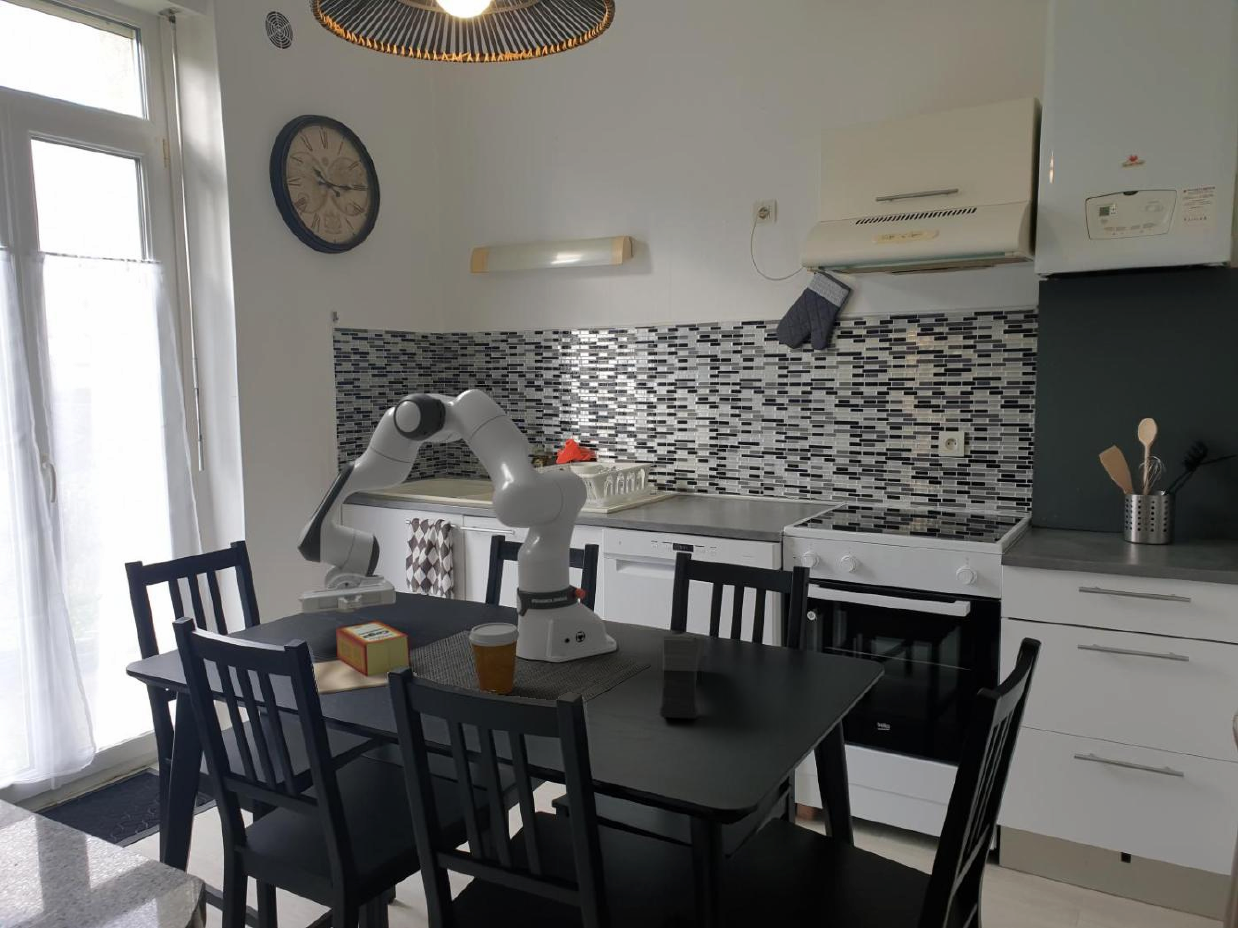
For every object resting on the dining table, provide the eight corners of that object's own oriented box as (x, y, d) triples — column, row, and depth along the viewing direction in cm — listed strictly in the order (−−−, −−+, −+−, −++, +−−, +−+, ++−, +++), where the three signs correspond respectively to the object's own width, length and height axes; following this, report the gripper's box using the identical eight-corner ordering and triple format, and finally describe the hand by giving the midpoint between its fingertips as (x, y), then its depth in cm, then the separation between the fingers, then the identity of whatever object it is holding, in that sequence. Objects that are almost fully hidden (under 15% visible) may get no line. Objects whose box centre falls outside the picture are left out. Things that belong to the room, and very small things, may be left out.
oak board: (398, 654, 202) (398, 652, 201) (412, 681, 184) (412, 678, 184) (311, 666, 195) (311, 663, 195) (317, 694, 177) (317, 691, 177)
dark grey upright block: (657, 717, 158) (660, 628, 161) (675, 710, 186) (676, 634, 189) (696, 719, 156) (698, 629, 160) (707, 711, 185) (709, 635, 188)
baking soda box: (378, 620, 203) (409, 636, 191) (379, 649, 204) (410, 666, 191) (335, 628, 198) (365, 645, 185) (337, 658, 198) (366, 676, 186)
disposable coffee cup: (505, 678, 184) (503, 619, 183) (530, 690, 177) (528, 629, 176) (462, 688, 179) (460, 628, 178) (486, 702, 171) (483, 638, 170)
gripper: (297, 583, 210) (300, 596, 197) (389, 574, 217) (398, 586, 204) (299, 610, 210) (302, 625, 198) (391, 600, 218) (399, 614, 205)
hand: (351, 605), depth 201 cm, fingers closed
